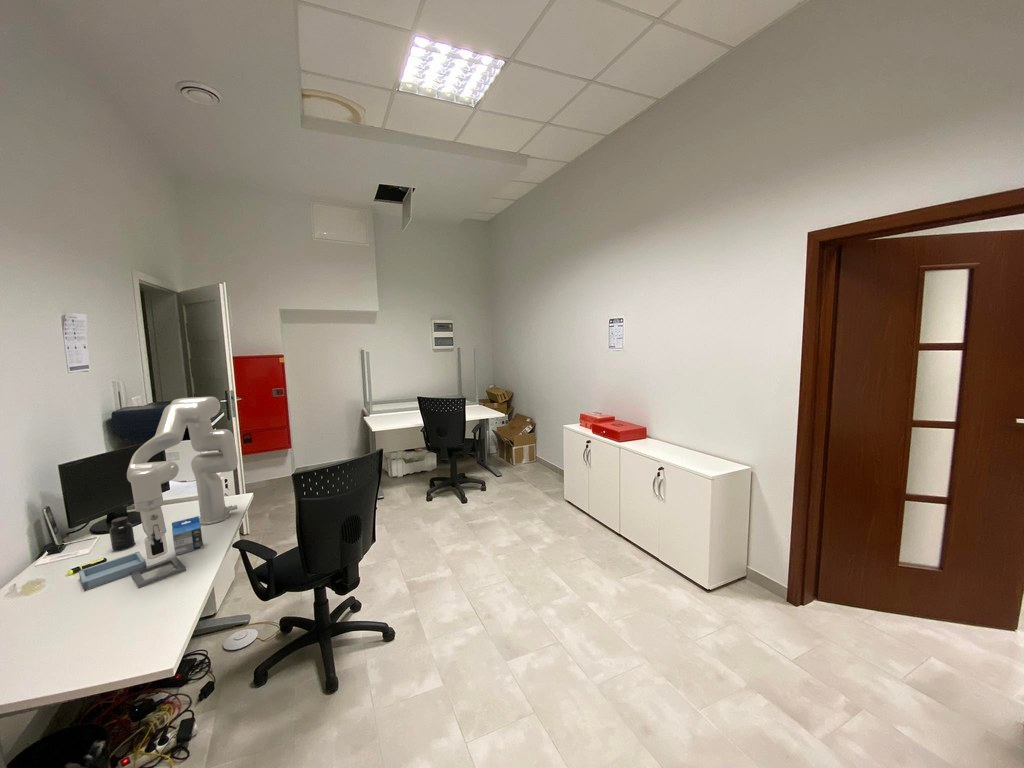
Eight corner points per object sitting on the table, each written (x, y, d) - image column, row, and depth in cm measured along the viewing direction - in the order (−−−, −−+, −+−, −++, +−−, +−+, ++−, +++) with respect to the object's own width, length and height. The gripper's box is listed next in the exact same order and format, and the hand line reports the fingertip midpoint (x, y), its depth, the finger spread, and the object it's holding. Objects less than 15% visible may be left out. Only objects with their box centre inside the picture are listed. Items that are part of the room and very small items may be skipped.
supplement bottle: (139, 543, 170) (135, 515, 168) (122, 551, 163) (118, 523, 162) (125, 542, 170) (120, 515, 169) (107, 551, 164) (102, 522, 162)
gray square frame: (176, 559, 156) (176, 556, 156) (186, 570, 148) (185, 567, 148) (130, 575, 146) (130, 572, 146) (138, 588, 138) (138, 585, 138)
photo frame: (34, 565, 154) (50, 545, 168) (34, 567, 154) (51, 548, 168) (88, 552, 162) (100, 535, 176) (89, 555, 162) (100, 537, 177)
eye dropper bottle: (167, 555, 147) (162, 524, 145) (146, 561, 143) (141, 529, 142) (168, 550, 150) (163, 519, 149) (147, 556, 147) (142, 524, 145)
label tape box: (175, 556, 158) (171, 525, 157) (175, 552, 161) (171, 522, 160) (203, 548, 164) (199, 518, 162) (202, 544, 167) (199, 515, 166)
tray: (139, 558, 157) (138, 551, 157) (146, 569, 150) (145, 561, 149) (79, 578, 145) (78, 570, 144) (84, 591, 137) (83, 582, 137)
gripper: (168, 505, 142) (176, 554, 144) (157, 494, 152) (164, 540, 155) (140, 513, 136) (148, 564, 138) (130, 501, 146) (137, 548, 149)
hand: (156, 551), depth 146 cm, fingers closed on eye dropper bottle, 3 cm apart
